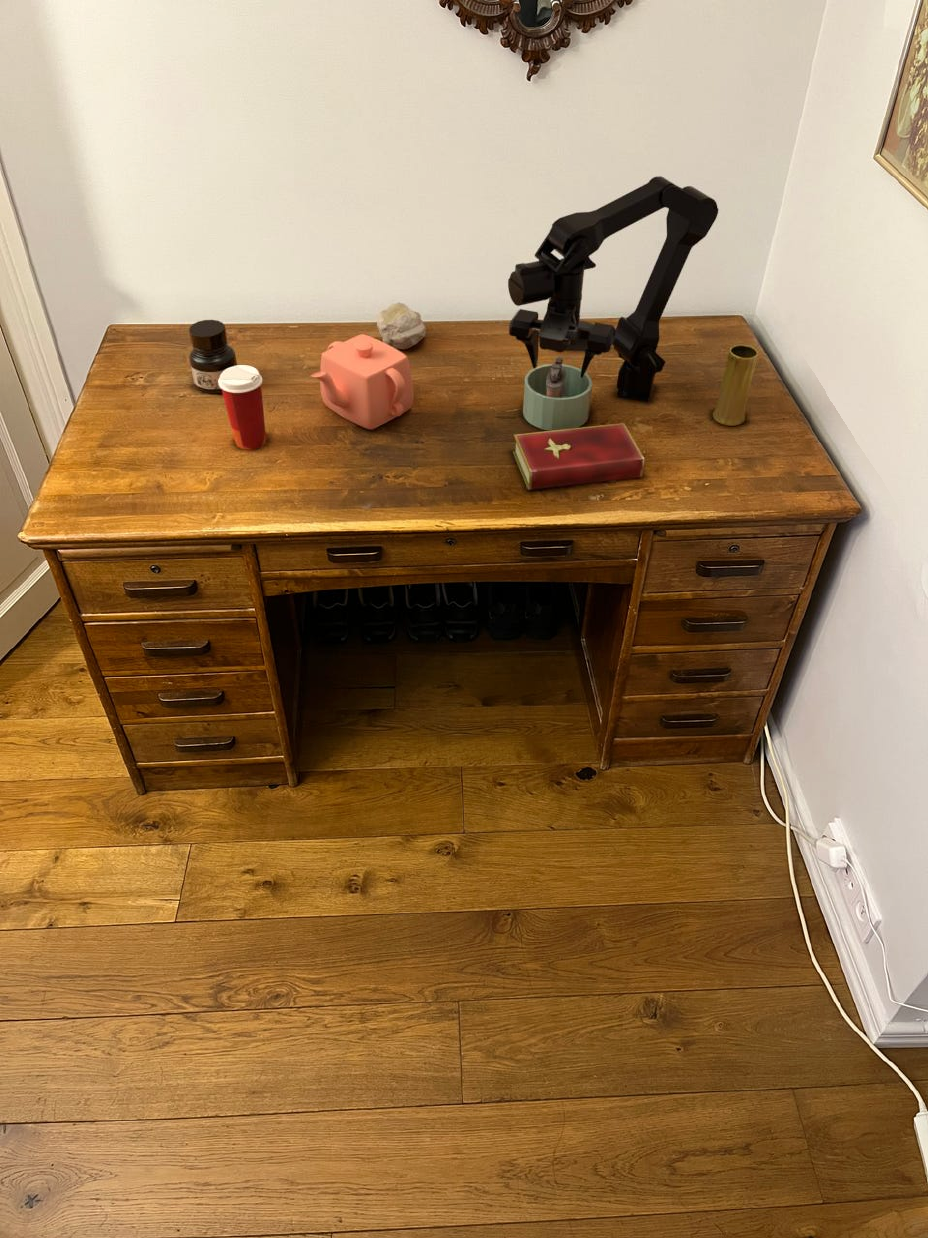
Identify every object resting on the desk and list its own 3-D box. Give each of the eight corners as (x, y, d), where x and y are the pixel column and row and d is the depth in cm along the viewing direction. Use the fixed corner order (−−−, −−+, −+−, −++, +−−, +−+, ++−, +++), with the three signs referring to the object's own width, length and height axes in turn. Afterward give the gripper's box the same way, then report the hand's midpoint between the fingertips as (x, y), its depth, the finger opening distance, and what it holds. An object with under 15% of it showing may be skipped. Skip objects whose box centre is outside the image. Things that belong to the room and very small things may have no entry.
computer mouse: (604, 350, 208) (606, 333, 206) (551, 349, 208) (552, 332, 206) (601, 335, 213) (603, 318, 210) (549, 334, 213) (551, 317, 210)
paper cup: (278, 434, 185) (268, 367, 175) (259, 456, 180) (248, 389, 170) (241, 426, 187) (229, 360, 177) (221, 448, 181) (208, 381, 172)
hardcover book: (642, 478, 176) (645, 458, 173) (528, 491, 173) (530, 471, 170) (621, 440, 184) (624, 421, 181) (512, 452, 181) (513, 433, 178)
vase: (747, 413, 192) (764, 347, 182) (740, 429, 188) (756, 362, 178) (717, 406, 193) (731, 340, 183) (709, 421, 189) (723, 355, 179)
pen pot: (595, 402, 194) (599, 370, 189) (579, 436, 185) (582, 404, 180) (533, 390, 197) (535, 358, 192) (514, 423, 188) (516, 391, 183)
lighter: (558, 422, 188) (562, 375, 181) (541, 419, 188) (544, 373, 181) (565, 400, 193) (570, 354, 186) (548, 397, 194) (552, 352, 187)
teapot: (284, 415, 190) (275, 350, 180) (358, 376, 200) (353, 313, 190) (354, 456, 180) (349, 390, 170) (428, 414, 190) (427, 349, 180)
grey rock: (432, 332, 214) (387, 332, 215) (428, 294, 208) (382, 295, 210) (422, 356, 204) (375, 356, 206) (418, 317, 199) (370, 317, 201)
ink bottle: (184, 388, 196) (172, 333, 188) (208, 367, 202) (198, 313, 193) (226, 398, 193) (216, 343, 185) (249, 377, 199) (240, 322, 191)
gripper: (501, 304, 170) (498, 383, 181) (606, 323, 166) (596, 403, 177) (520, 277, 178) (515, 355, 189) (621, 294, 174) (610, 373, 185)
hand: (558, 371), depth 185 cm, fingers open, 9 cm apart
